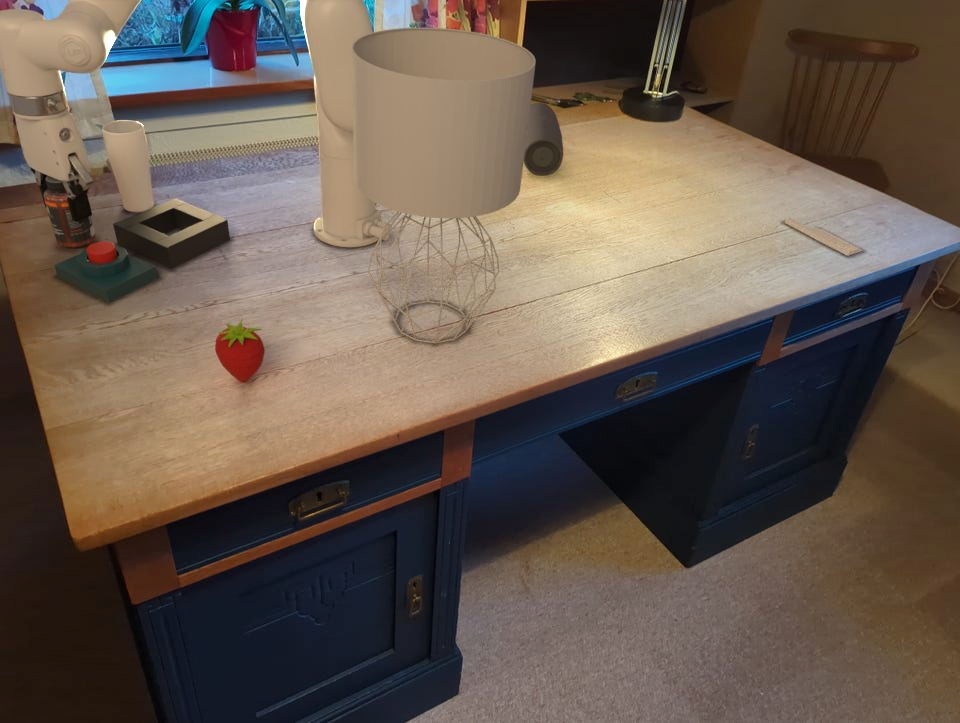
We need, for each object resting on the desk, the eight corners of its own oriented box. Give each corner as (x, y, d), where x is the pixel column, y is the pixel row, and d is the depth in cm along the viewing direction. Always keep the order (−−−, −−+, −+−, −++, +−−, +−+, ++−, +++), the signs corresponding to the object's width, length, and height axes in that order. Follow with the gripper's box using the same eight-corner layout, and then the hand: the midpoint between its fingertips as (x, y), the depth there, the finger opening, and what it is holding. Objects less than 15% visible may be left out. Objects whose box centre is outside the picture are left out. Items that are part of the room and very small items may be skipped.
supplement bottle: (104, 236, 128) (88, 174, 122) (78, 252, 124) (61, 188, 117) (75, 229, 130) (58, 166, 123) (48, 244, 125) (29, 180, 118)
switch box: (158, 278, 120) (153, 256, 118) (109, 303, 114) (103, 280, 112) (107, 254, 125) (102, 233, 122) (57, 277, 118) (50, 254, 116)
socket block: (230, 240, 132) (227, 219, 129) (171, 269, 123) (167, 247, 120) (178, 218, 137) (174, 197, 134) (117, 245, 128) (112, 223, 125)
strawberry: (253, 359, 106) (245, 298, 100) (277, 388, 101) (270, 327, 95) (211, 373, 103) (201, 311, 97) (234, 403, 98) (225, 341, 92)
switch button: (123, 256, 118) (120, 246, 117) (100, 267, 115) (98, 257, 114) (105, 248, 119) (103, 238, 118) (83, 258, 117) (80, 248, 116)
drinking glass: (146, 218, 136) (129, 136, 127) (111, 211, 137) (92, 130, 127) (166, 202, 141) (151, 123, 132) (132, 196, 142) (115, 117, 133)
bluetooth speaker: (561, 183, 162) (568, 138, 156) (518, 180, 162) (523, 134, 156) (555, 144, 180) (561, 101, 174) (516, 140, 180) (520, 98, 174)
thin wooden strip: (800, 218, 158) (802, 213, 157) (862, 251, 148) (864, 246, 147) (784, 222, 155) (786, 217, 155) (846, 256, 146) (849, 251, 145)
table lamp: (383, 379, 105) (384, 85, 81) (340, 295, 121) (330, 29, 97) (527, 350, 113) (568, 76, 89) (469, 275, 129) (490, 25, 105)
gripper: (99, 109, 112) (124, 219, 123) (26, 82, 119) (55, 189, 130) (53, 122, 107) (83, 236, 118) (-21, 93, 113) (14, 204, 124)
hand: (68, 211), depth 124 cm, fingers closed on supplement bottle, 6 cm apart
